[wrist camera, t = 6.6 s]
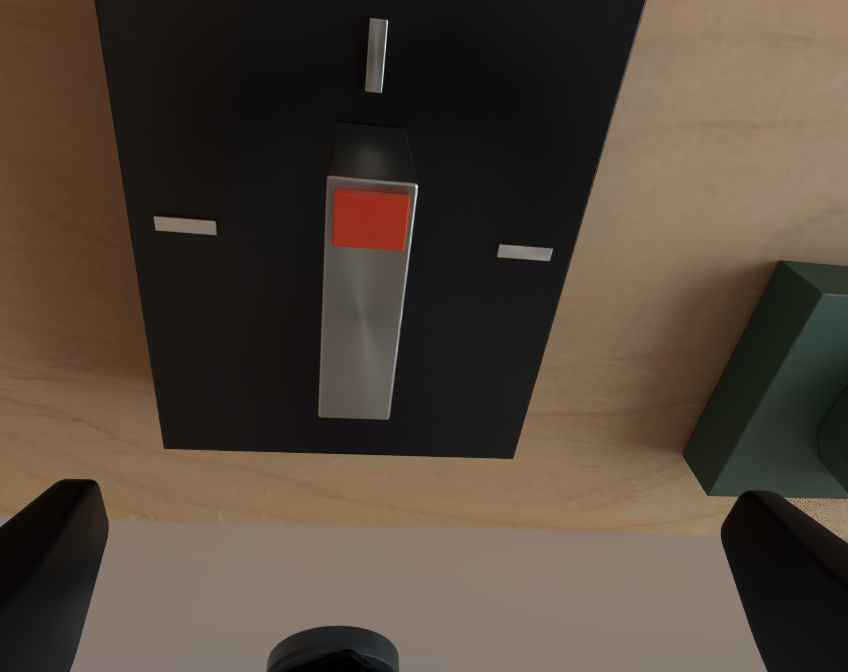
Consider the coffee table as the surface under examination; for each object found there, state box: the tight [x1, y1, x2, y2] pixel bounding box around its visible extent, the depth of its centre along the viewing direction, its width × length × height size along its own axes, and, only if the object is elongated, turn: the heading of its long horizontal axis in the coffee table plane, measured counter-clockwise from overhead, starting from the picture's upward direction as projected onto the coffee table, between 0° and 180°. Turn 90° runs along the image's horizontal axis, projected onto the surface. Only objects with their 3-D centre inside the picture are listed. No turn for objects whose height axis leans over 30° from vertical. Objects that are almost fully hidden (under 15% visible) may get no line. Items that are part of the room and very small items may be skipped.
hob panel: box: [94, 0, 646, 459], centre depth 16 cm, size 15×11×3 cm
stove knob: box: [318, 122, 418, 420], centre depth 13 cm, size 6×2×4 cm, turn 173°
